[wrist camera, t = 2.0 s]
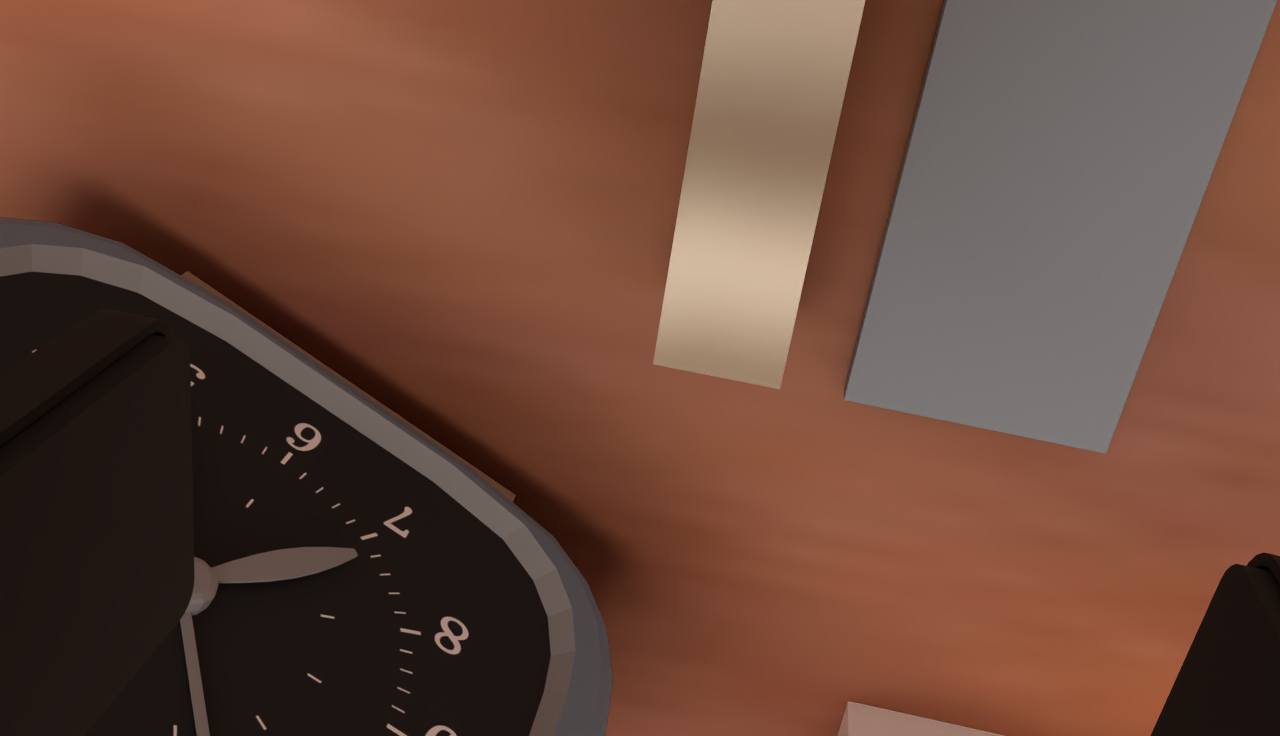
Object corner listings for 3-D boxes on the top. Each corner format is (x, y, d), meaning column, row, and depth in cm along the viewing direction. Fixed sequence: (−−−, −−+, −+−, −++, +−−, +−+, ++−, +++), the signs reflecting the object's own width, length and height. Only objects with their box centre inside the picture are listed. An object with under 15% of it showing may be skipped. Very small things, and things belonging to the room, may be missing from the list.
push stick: (761, -201, 27) (745, -202, 22) (893, -179, 27) (904, -176, 22) (679, 286, 32) (652, 364, 28) (788, 307, 32) (780, 389, 27)
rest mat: (1012, -266, 25) (1015, -267, 25) (1347, -212, 25) (1357, -213, 24) (844, 390, 32) (844, 399, 32) (1101, 442, 32) (1106, 453, 31)
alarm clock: (657, 557, 36) (440, 1439, 16) (494, 736, 40) (166, 1610, 21) (62, 147, 33) (-1039, 631, 14) (-49, 385, 37) (-1014, 1014, 18)
